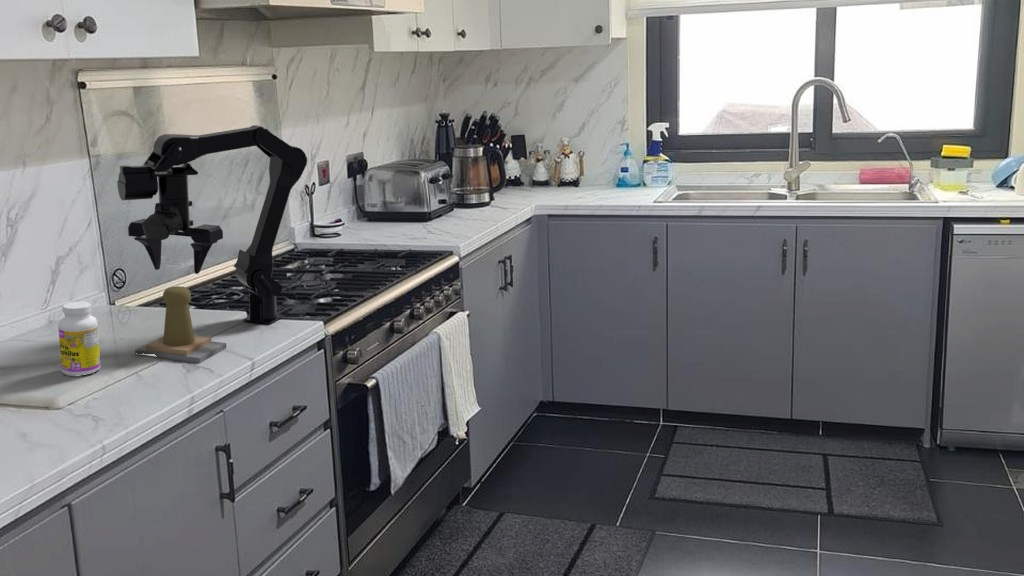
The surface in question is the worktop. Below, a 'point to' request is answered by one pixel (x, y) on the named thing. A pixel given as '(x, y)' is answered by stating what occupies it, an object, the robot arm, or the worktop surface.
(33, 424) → the worktop surface
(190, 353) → the stand
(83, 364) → the supplement bottle
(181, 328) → the cork
